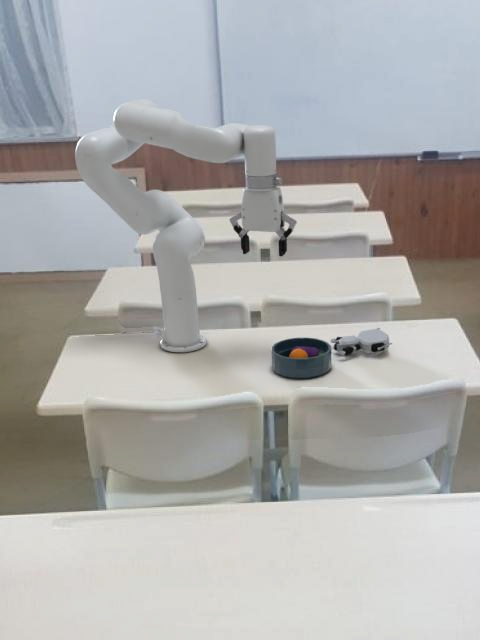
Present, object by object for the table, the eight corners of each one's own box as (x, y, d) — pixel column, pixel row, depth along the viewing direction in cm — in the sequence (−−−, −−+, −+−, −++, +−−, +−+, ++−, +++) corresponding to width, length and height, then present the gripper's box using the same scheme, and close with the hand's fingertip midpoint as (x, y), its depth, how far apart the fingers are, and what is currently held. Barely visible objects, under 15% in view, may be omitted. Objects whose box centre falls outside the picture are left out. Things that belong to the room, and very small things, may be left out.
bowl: (264, 376, 215) (263, 355, 212) (283, 355, 227) (282, 335, 224) (321, 382, 210) (321, 361, 207) (337, 360, 222) (337, 340, 219)
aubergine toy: (287, 357, 218) (290, 342, 219) (291, 363, 222) (294, 349, 223) (320, 360, 216) (323, 345, 217) (323, 366, 220) (326, 352, 220)
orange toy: (285, 365, 214) (286, 344, 215) (291, 372, 218) (292, 352, 219) (304, 363, 212) (305, 343, 213) (310, 370, 217) (311, 350, 218)
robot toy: (339, 365, 221) (395, 356, 223) (338, 349, 219) (394, 340, 220) (329, 349, 232) (382, 340, 233) (328, 333, 229) (381, 324, 230)
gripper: (300, 180, 205) (301, 252, 214) (233, 177, 210) (237, 248, 219) (290, 186, 199) (292, 260, 208) (222, 183, 204) (226, 255, 213)
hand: (264, 254), depth 214 cm, fingers open, 9 cm apart
